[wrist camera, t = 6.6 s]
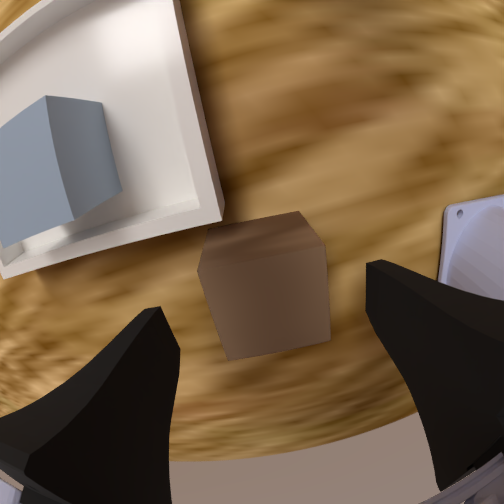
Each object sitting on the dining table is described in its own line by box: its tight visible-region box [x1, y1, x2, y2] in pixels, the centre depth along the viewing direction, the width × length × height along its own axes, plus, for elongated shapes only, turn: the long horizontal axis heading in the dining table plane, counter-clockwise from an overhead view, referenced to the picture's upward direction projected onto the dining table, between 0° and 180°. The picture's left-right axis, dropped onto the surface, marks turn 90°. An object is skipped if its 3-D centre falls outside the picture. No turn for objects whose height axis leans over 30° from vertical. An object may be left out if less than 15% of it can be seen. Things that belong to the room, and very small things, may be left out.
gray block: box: [0, 95, 123, 248], centre depth 8 cm, size 4×4×4 cm
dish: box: [0, 0, 225, 280], centre depth 8 cm, size 12×12×2 cm
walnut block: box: [197, 211, 331, 361], centre depth 11 cm, size 4×4×4 cm
